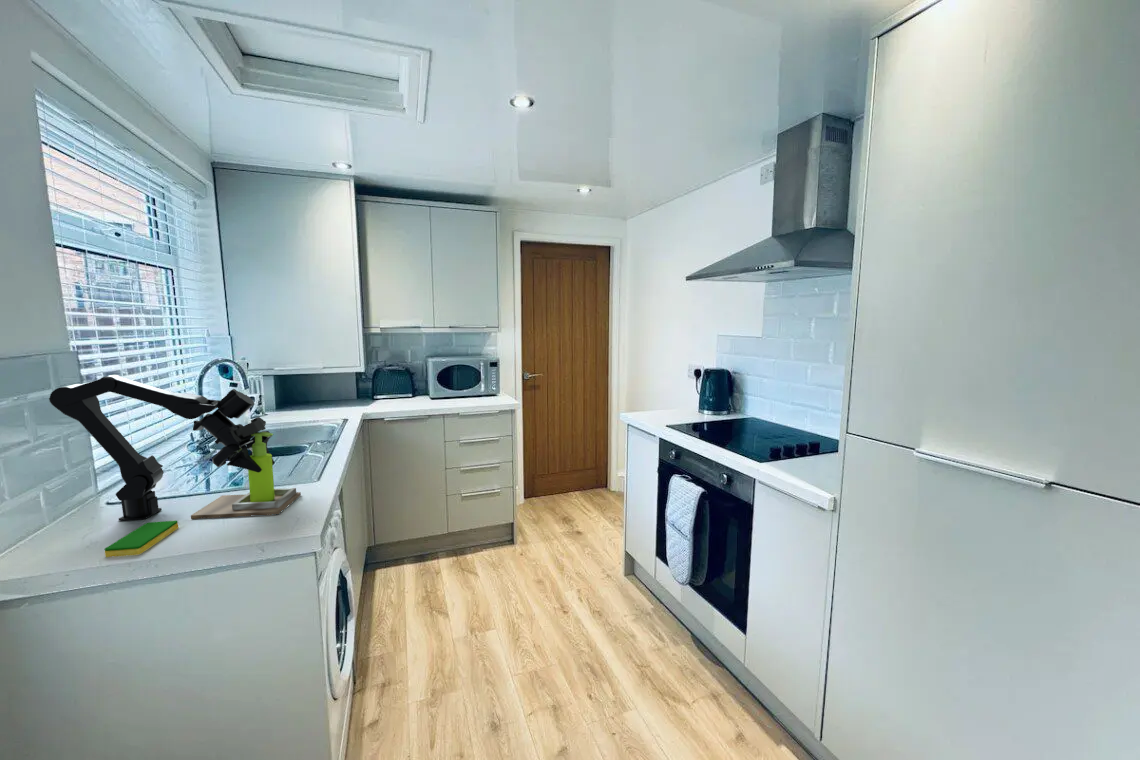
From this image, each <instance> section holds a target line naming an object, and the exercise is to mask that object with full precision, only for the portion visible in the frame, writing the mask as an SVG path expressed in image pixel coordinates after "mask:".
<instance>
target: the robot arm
mask: <svg viewBox="0 0 1140 760" xmlns="http://www.w3.org/2000/svg"><path fill="white" fill-rule="evenodd" d="M107 393H114V394H117V395H121V396H124V397H128V398H131V399H134V400H138V401H142V402H145V403H148V404H153V405H156V406H159V407H162V408H165V409H166V410H168V411H169V412H171V414H174V415H177V416H178V417H181V418H184V419H187V420H194V419H197V418H199V417H201V416H203V417H202V418H201V419H199V420H194V421H193V427H192V431H202V430H204V429H205V430H206V431H207V432H208V433H209V434H210V436H213V438H215V441H214V443H215V444H216V445H219V444H221V445H222V446H223V447H222V448H221V449H220V450H219V451H218V452H217V453H216V454H214V456H213V457H212V464H213V465H214V466H215V467H216V468H220V467H222V466H224V465H226V466H227V467H229V466H231V467H235V468H240V469H244V470H247V471H248V470H251V471H255V472H258V473H259V472H261V471H262V469H261V468H260V466H259V465H258V464H257V463H256V462H255V461H254V460H253V459H252V458H251V457H250V456H251V455H252V445H253V444H254V443H255V436H251V434H254V433H257V432H268V433H271V432H270V431H269V430H266V424H267V422H266V420H264V419H263V418H261V417H260V416H257V417H254V418H253V419H251V420H250V423H247V424H245V425H243V424H242V423H238V424H235V423H234V422H233V421H231V420H232V419H233V418H235V419H239V418H241V416H243V415H244V414H245V413H246V412H247V411H248V410H250V409H251V408H253V406H254V405H255V402H254V400H253V399H252V398H251V397H250V396H249V395H247V394H245V393H244V392H241V391H240V390H239V391H238V390H236V389H235V388H233V389H231V390H229V391H228V392H227V393H226V394H225V396H224V397H222V398H221V399H220V400H219V399H208V398H207V397H205V396H203V395H200V394H199V395H198V394H194V393H193V394H192V393H186V392H185V393H183V392H174V391H170V390H165V389H162V388H158V387H155V386H152V385H149V384H146V383H142V382H139V381H136V380H132V379H130V378H129V379H128V378H125V377H122V376H121V375H118V374H110V375H106V376H102V377H100V378H98V379H96V380H93V381H89V382H86V383H83V384H82V383H73V384H69V385H64V386H60V387H57V388H55V389H54V390H52V392H51V393H50V395H49V398H48V401H49V403H50V404H51V405H52V406H53V408H55V409H56V410H58V411H59V412H61V413H62V414H63V415H65V416H68V417H69V418H71V419H73V420H75V421H77V422H79V423H80V424H81V425H82V426H83V428H84V429H85V430H86V431H87V432H88V433H89V434H90V435H91V437H92V438H94V440H95V441H96V442H97V443H98V444H99V445H100V447H102V448H103V450H104V451H105V452H106V453H107V454H108V455H109V456H110V457H111V458H112V460H114V461H115V462H116V464H117V465H118V467H119V471H120V475H121V478H122V480H123V481H124V483H125V484H124V485H123V486H122V487H121V488H120V489H118V491H117V492H115V496H116V498H117V500H119V501H121V502H120V503H121V509H122V516H121V517H118V521H135V520H136V521H139V520H140V521H141V520H146V519H148V518H149V517H151V516H153V515H155V514H158V512H160V511H162V507H159V502H158V496H156V491H155V490H153V489H155V488H156V486H157V483H159V482H160V481H161V480H162V478H163V476H164V470H163V468H162V467H164V465H163V464H162V463H161V464H160V462H158V460H157V458H156V457H155V455H153V454H152V455H149V456H148V457H146V456H144V455H142V454H141V453H139V451H137V450H136V449H135V448H134V447H133V445H132V444H131V443H130V442H129V441H128V440H127V439H126V437H125V436H124V435H123V434H122V433H121V432H120V430H118V428H117V427H116V426H115V425H114V424H113V422H111V421H110V420H109V418H108V417H107V416H106V415H105V413H103V411H102V409H101V404H100V401H99V399H98V396H100V395H103V394H107ZM214 410H215V411H214ZM211 412H212V413H211ZM273 436H274V434H273V435H272V436H269V437H266V436H262V442H264V443H266V453H268V454H271V453H270V451H269V448H268V442H269V441H270V439H271V438H272V437H273ZM249 451H251V453H250V454H249ZM227 461H229V462H228V463H227ZM274 464H275V461H274V458H273V457H272V465H273V466H274Z"/></svg>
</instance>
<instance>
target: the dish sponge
mask: <svg viewBox="0 0 1140 760" xmlns="http://www.w3.org/2000/svg"><path fill="white" fill-rule="evenodd" d="M178 529H179V522H178V520H167V521H166V520H165V521H164V520H163V521H150V522H146V523H144V524H142V525H141V526H139V527H137V528H136V529H134V530H133V531H131V532H129V533H128V534H126V535H124V536H123V537H121V538H120V539H118V540H116V541H115V542H113V543H111V544H110V545H108V546H107V547H105V548H104V556H106V557H105V558H110V557H111V558H112V556H114V557H126V555H128V556H138V555H142V554H143V553H144V552H145V551H147V550H149V549H150V548H152V547H153V546H154V545H156V544H158V543H159V542H161V541H162V540H163V539H165V538H166V537H168V536H169V535H170V534H172V533H174V532H175V531H176V530H178Z"/></svg>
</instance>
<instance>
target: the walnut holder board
mask: <svg viewBox="0 0 1140 760" xmlns="http://www.w3.org/2000/svg"><path fill="white" fill-rule="evenodd" d="M274 495H275V498H274V499H273V500H272V501H269V502H250V491H249V492H248V493H245V494H227V495H226V494H223V495H220V496H219V497H218V498H215V499H214V500H212V501H211V502H210V503H208V504H206V505H205V506H203V507H202V508H200V509H198V510H197V511H196V512H194V513H192V514H190V519H191V520H194V519H195V520H196V519H200V520H201V519H219V518H222V517H223V518H239V517H238V516H244V517H252V516H251V515H265V516H273V515H272V514H279V513H280V512H281V511H282V510H283V511H285V510H286V509H287V508H288V507H289V506H290V505H292V504H293V503H294V502H295V501H296V500H297V499H298V498H299V497H301V496H300V495H301V491H298V492H297V488H296V487H291V488H290V487H285V488H274ZM294 500H295V501H294ZM293 501H294V502H293ZM292 502H293V503H292ZM289 504H290V505H289ZM288 505H289V506H288ZM287 506H288V507H287ZM286 507H287V508H286ZM285 508H286V509H285ZM284 509H285V510H284ZM283 511H282V512H283ZM282 512H281V513H282ZM281 513H280V514H281ZM280 514H279V515H280Z"/></svg>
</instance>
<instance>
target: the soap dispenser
mask: <svg viewBox="0 0 1140 760" xmlns="http://www.w3.org/2000/svg"><path fill="white" fill-rule="evenodd" d="M272 435H273V436H274V433H272V432H270V433H268V432H262V431H259V432H257V433H254V434H251V436H255V443H254V444H253V445H252V451H251V452H252V455H249V456H250V457H251V458H252V459H253V460H254V461H255V462H256V463H257V464H258V465H259V466H260V468H261V469H262V471H261V472H259V473H258V472H255V471H251V470H247V472H248V473H247V474H248V487H249V488H248V489H249V492H250V502H269V501H272V500H273V499H274V498H275V495H274V489H275V484H274V481H275V480H274V470H273V469H274V468H273V466H274V465H272V458H273V455H272V454H271V453H270V454H268V453H266V443H264V442H262V436H266V437H269V436H272ZM273 436H272V437H273Z"/></svg>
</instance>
